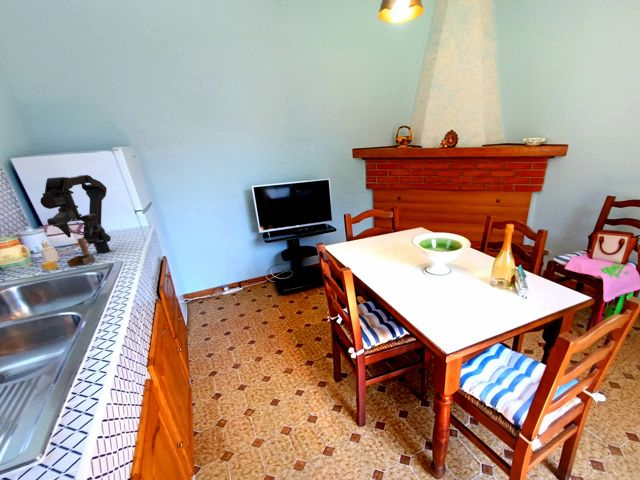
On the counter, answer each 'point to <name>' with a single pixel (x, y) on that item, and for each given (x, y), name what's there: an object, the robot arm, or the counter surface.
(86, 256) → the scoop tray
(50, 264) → the block
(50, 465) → the counter surface
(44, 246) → the eye dropper bottle
